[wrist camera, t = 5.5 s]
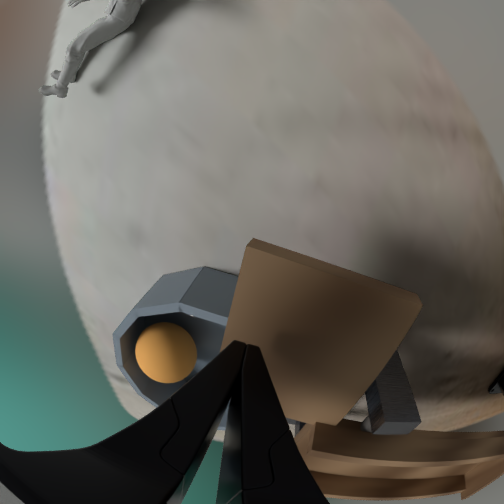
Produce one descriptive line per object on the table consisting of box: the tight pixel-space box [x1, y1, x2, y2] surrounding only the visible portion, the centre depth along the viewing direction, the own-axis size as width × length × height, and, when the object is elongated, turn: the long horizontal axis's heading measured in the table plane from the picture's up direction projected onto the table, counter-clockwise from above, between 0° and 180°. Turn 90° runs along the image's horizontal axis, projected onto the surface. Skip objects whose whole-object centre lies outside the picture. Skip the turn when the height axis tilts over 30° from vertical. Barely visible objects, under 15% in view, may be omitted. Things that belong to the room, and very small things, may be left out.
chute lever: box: [220, 238, 504, 500], centre depth 9 cm, size 22×14×3 cm, turn 76°
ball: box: [135, 322, 197, 383], centre depth 16 cm, size 4×4×4 cm
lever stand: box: [286, 349, 421, 436], centre depth 14 cm, size 5×13×8 cm, turn 166°
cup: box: [113, 267, 238, 430], centre depth 16 cm, size 11×11×4 cm
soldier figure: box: [39, 0, 142, 98], centre depth 9 cm, size 8×5×12 cm
